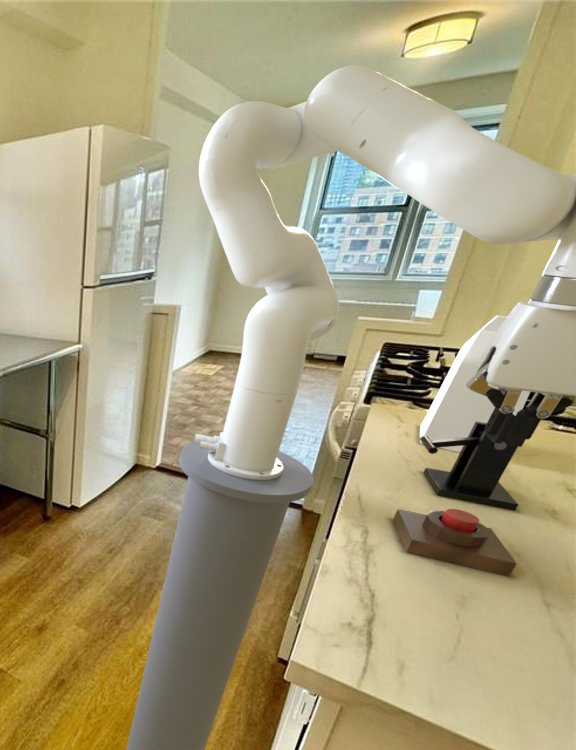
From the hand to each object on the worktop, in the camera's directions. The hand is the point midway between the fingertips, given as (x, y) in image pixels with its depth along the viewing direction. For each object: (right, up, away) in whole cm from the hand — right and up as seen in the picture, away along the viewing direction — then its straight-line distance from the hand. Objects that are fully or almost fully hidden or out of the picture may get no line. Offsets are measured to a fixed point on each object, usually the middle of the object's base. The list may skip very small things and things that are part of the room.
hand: (503, 440), depth 63 cm
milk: (+33, 0, +40) cm, 52 cm away
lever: (+15, -1, +20) cm, 24 cm away
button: (0, -12, +6) cm, 14 cm away
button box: (0, -15, +8) cm, 17 cm away
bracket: (+17, -8, +22) cm, 29 cm away
